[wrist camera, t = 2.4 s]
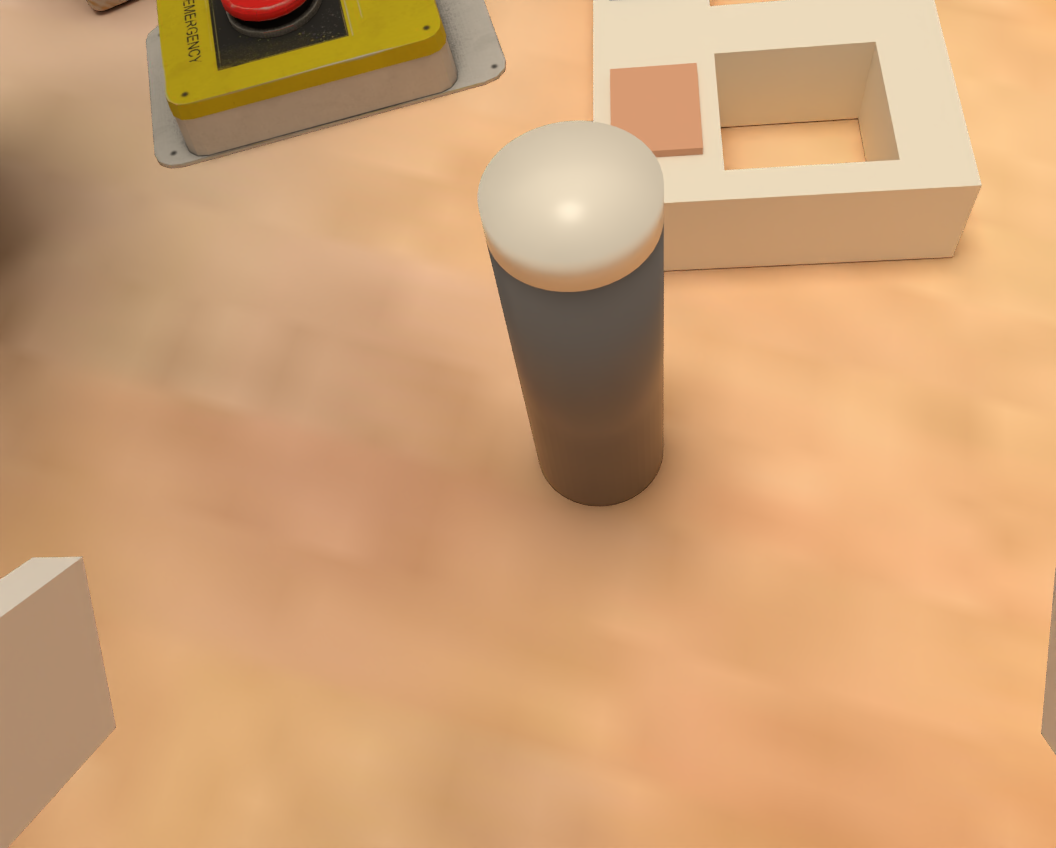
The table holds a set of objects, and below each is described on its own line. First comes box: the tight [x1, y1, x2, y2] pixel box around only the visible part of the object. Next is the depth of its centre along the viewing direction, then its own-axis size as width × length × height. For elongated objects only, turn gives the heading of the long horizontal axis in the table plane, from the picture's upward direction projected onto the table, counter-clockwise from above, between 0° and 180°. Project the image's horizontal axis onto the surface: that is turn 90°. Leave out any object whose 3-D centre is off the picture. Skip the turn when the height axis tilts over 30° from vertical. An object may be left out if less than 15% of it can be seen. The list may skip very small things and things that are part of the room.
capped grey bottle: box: [478, 121, 664, 506], centre depth 26 cm, size 4×4×12 cm
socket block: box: [593, 0, 982, 271], centre depth 36 cm, size 12×16×4 cm
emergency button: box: [146, 0, 506, 168], centre depth 41 cm, size 9×4×15 cm
